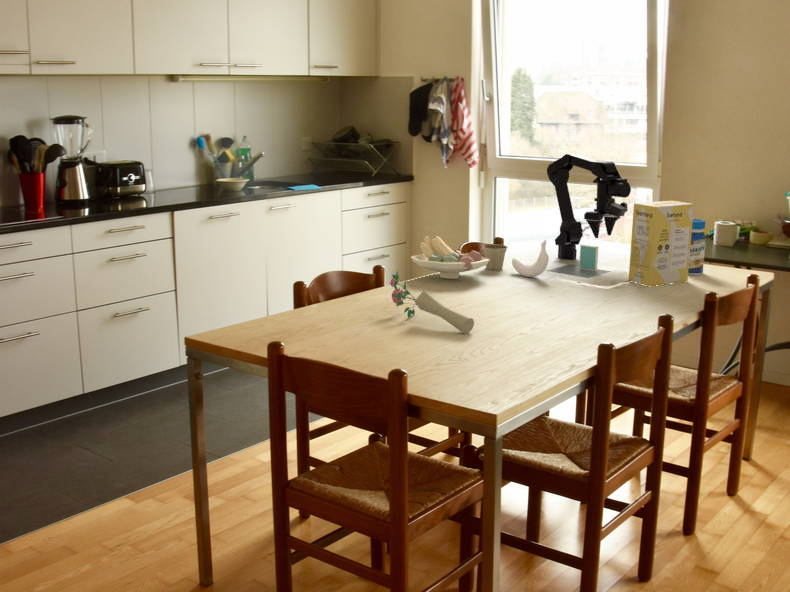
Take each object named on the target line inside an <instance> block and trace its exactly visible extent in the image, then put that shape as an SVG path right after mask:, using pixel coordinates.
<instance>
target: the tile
mask: <svg viewBox="0 0 790 592" xmlns="http://www.w3.org/2000/svg"><path fill="white" fill-rule="evenodd" d="M579 245H580V247H579V249H580V250H579V265H578V266H579V268H580V269H586V270H592V271H597V269H598V261H599V260H598V259H599V246H596V245H590V244H579Z"/></svg>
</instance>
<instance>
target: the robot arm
mask: <svg viewBox="0 0 790 592" xmlns="http://www.w3.org/2000/svg"><path fill="white" fill-rule="evenodd" d="M574 167H578V168H580V169H584V170H586V171H589V172H591V174H592V175H594V176H595V177H596V178H595V179H594V180H592V183H593V184H596V197H594V202H596V205H595V206H596V207H595V208H593V211H592V210H591V211H586V212H585V213H584V214H583V215H584V216H583V220H585V221H586V222H587V224H588V226H589V228H590V230H591V232H592V234H593V237H594V239H599V235H600V227H601V225H602V223H603V222H604V224H605V229H606V234H607V236H611V235H612V232H613V230H614V227H615V224H616V222H617V221H618V220H620V219H621V218H622V217H624V216H625V213H626V212H628V211H629V210H628V203H627V202H623V201H622V202H621V203H617V202H616V199H615V197H616V198H628V197H629V196H630V194H631V191H632V187H631V184H630V183H629V182H628V178H622V177H621V175H620V173H619V171H618V169H617V167H616V164H615V163H614V161H606V160H605V161H604V160H595V159H592V158H588V157H586V156H582V155H579V154H577V153H575V152H573V153H572V152H571V153H566V154H564V155H563V156H562V157H560V158H558V159H557V160H554V161H553V162H552V163H549V164H548V165H547V167H546V174H547V176H548V180H549V182H550V183H551V184H552V185H553V186H554V188H555V193H556V194H555V195H556V199H557V203H558V204H557V205H558V209H559V213H560V219H561V223H560V226H559V234H558V235H557V236H556V238H554V244H555V246H558V248H557V257H556V258H555V260H557V259H561V260H565V261H566V260H567V261H569V260H570V261H574V260H576V259H577V252H578V251H577V245H580V242H581V239H582V237H583V232H584V230H583V227H582V222H581V221H577V220H576V218H575V215H574V210H573V209H574V208H573V204H572V200H571V196H570V191H569V186H568V182H569V178H570V172H571V171H572V169H574Z"/></svg>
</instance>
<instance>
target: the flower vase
mask: <svg viewBox="0 0 790 592" xmlns="http://www.w3.org/2000/svg"><path fill="white" fill-rule="evenodd" d="M398 272H399V271H398V270H396V274H391V276H392V278H391V280H390V286H391V287H392V288H394V290H393V291H392V293H391V300H392V302H393V303H394V304H395V307H399V306H403V305H405V304H409V305H410V303H408V302H407V303H406V302H405V303H404V302H403V301H404V300H406V299H408V300H409V299H410V300H411V301H414V303H413V306H412V307H410V306H409V307H408V306H407V307H406V308H404V311H403V313H404V314H405V313H406V312H407V318H408V319H410V317H411V315H414V316H415V313H416V311H415V305H416V306H417V307H418V309H419V310H421V311H423V312H426V313H429V314H431V315H434V316H436V317H437V316H438V317H439V318H441V319H443V320H444V321H446V322H447V323H449V324H450V325H451V326H452V327H454V328H455V329H457V330H458V331H460V332H461V333H463V334H464V335H467V334H469V333H470V332H471V331H472V330H473V328H474V326H475V319H473V318H472V317H470V316H468V315H466V314H462V313H461V312H458V311H456V310H453V309H451V308H449V307H447V306H446V305H445V304H443V303H442V302H441V301H440V300H438V299H436V298H435V297H434V296H432V295H431V294H430V293H429V292H428V291H426V290H423V291H422V292H420V294H419V295H418V297H416V298H415V296H413V295H412V293H411V292H410V291H409V290H408V289H407V284H406V282H404V283H403V285H402V284H401V283H399V282H402V281H401V277H400V275H399V273H398ZM397 285H399V286H400V287H402V289H401V288H400V287H399V288H398V287H397ZM409 295H410V296H411V297H409Z"/></svg>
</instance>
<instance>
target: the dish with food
mask: <svg viewBox="0 0 790 592" xmlns="http://www.w3.org/2000/svg"><path fill="white" fill-rule="evenodd" d="M423 240H424V242H420V245H419V246H420V249H421V252H422V253H420V254H415V255H411V257H410V258H411V259H412V262H413V263H415V264H416V265H418V266H420V267H421V268H424V269H426V270H428V271H433V272H437V273H439V277H440V278H441V279H451V280H452V279H459V278H460V273H465V272H470V271H473V270H474V271H475V270H478V269H480V268H483V267H486V265H487V263H488V262H489V259H487V258H485V256H482V254H481V253H480V252H479V251H476V250H471V251H470V252H468V253H460V252H456V251H454V250H453V249H452V248H451V247H450V246H448V244H447V243H446V242H445V241H444V240H443V239H442V238H441V237H440V236H438V235H435V237H434V238H432V239H431V238H430V237H429V236H428V235H425V236H424V237H423Z"/></svg>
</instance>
